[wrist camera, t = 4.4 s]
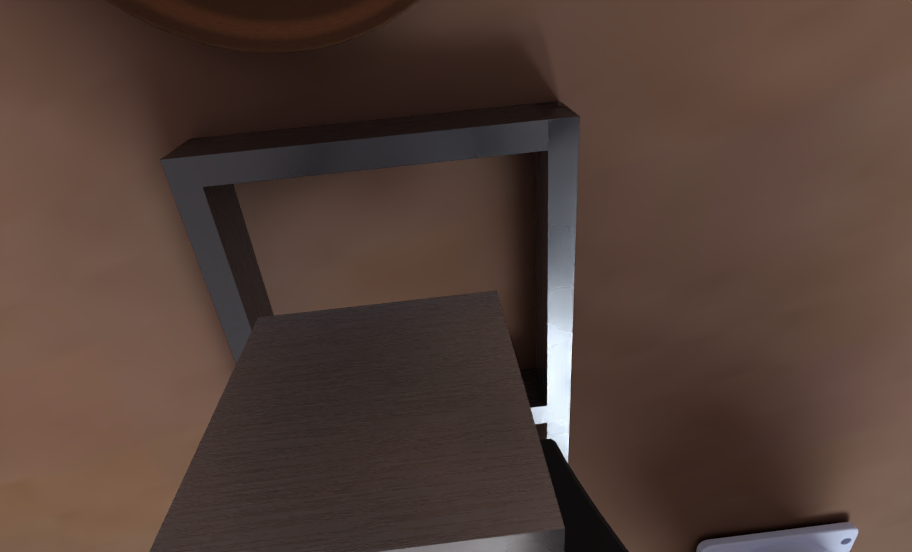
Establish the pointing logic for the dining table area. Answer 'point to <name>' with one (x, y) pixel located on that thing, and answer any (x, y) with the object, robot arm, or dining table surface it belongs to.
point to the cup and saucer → (266, 21)
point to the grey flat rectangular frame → (380, 146)
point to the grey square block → (371, 439)
